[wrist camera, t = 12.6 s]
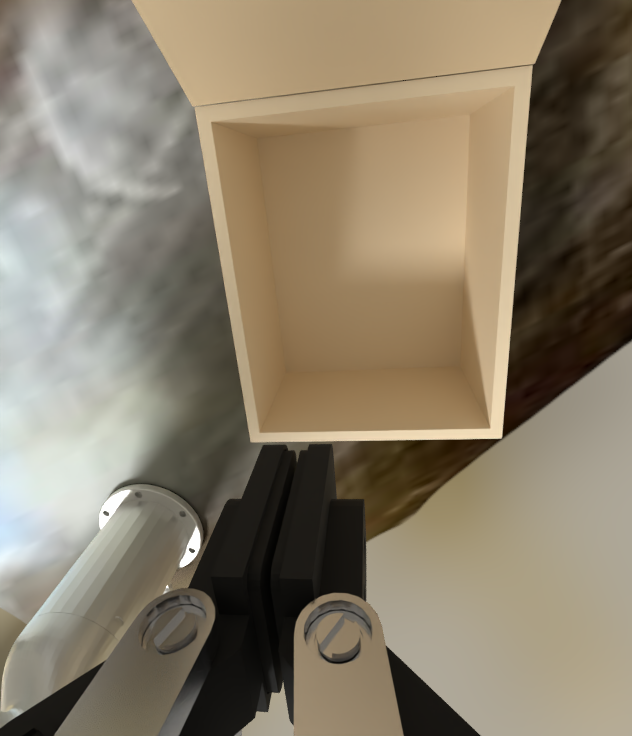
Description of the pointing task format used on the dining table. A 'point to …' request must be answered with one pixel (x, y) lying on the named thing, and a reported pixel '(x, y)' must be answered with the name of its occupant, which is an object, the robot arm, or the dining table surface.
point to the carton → (371, 254)
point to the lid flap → (337, 42)
